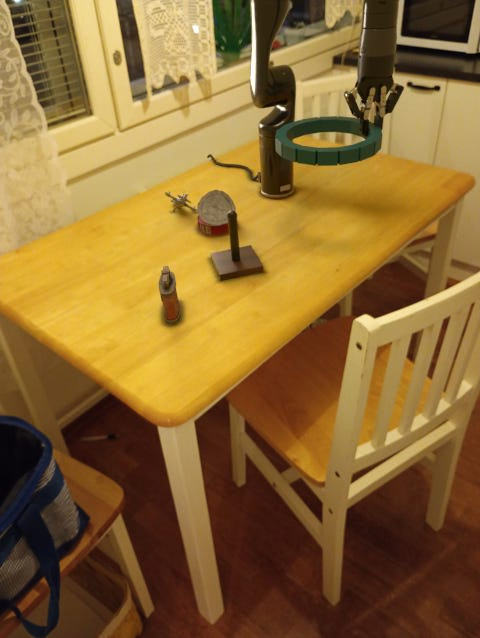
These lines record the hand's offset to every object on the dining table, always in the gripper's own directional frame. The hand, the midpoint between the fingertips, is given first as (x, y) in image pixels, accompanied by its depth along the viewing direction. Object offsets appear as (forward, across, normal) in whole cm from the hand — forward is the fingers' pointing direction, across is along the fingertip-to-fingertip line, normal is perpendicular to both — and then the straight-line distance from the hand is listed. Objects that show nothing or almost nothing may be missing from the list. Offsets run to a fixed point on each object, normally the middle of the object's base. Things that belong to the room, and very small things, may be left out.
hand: (370, 134), depth 120 cm
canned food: (+22, +35, -12) cm, 44 cm away
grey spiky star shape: (+22, +43, -25) cm, 55 cm away
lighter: (+23, +52, +21) cm, 61 cm away
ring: (+1, +10, 0) cm, 10 cm away
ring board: (+22, +35, +8) cm, 43 cm away
